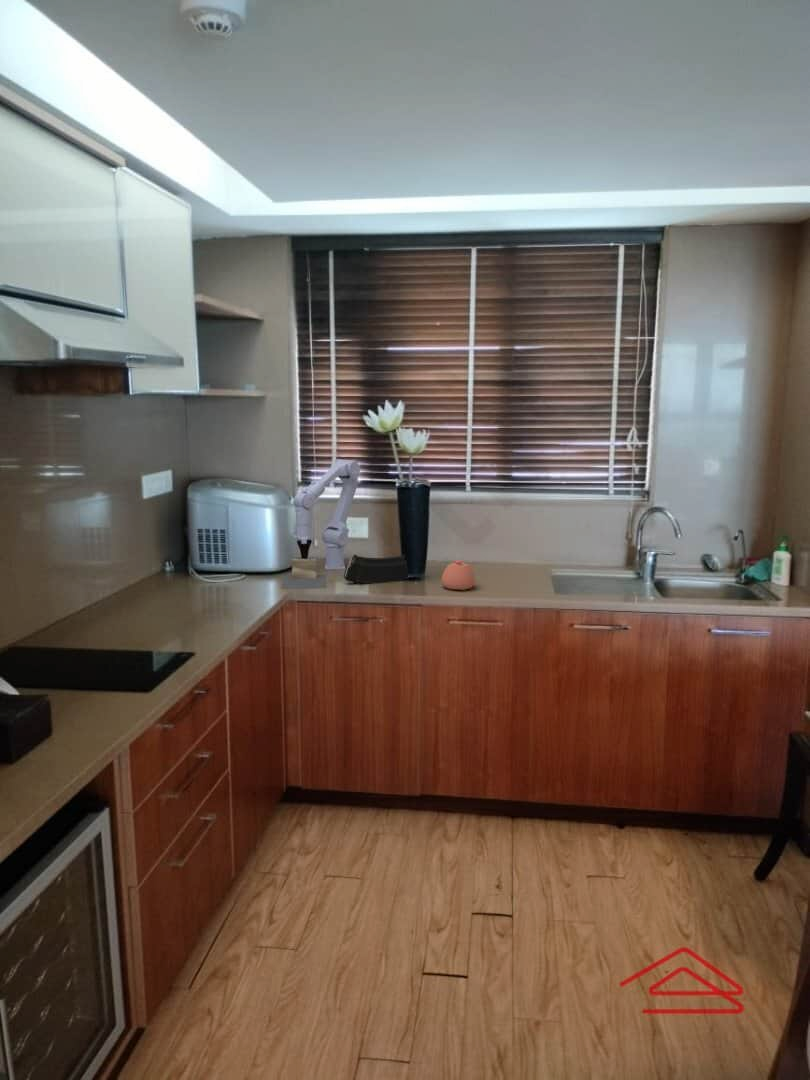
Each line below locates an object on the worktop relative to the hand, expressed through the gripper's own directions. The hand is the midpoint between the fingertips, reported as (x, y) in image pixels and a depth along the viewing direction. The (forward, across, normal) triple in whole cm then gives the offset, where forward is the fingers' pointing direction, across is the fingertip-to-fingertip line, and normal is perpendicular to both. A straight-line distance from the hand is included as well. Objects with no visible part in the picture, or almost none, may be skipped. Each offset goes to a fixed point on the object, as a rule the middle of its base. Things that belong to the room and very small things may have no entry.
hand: (304, 558), depth 290 cm
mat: (+6, +14, 0) cm, 16 cm away
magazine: (+6, +15, +29) cm, 34 cm away
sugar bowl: (+6, +26, +56) cm, 62 cm away
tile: (+6, +8, 0) cm, 10 cm away
